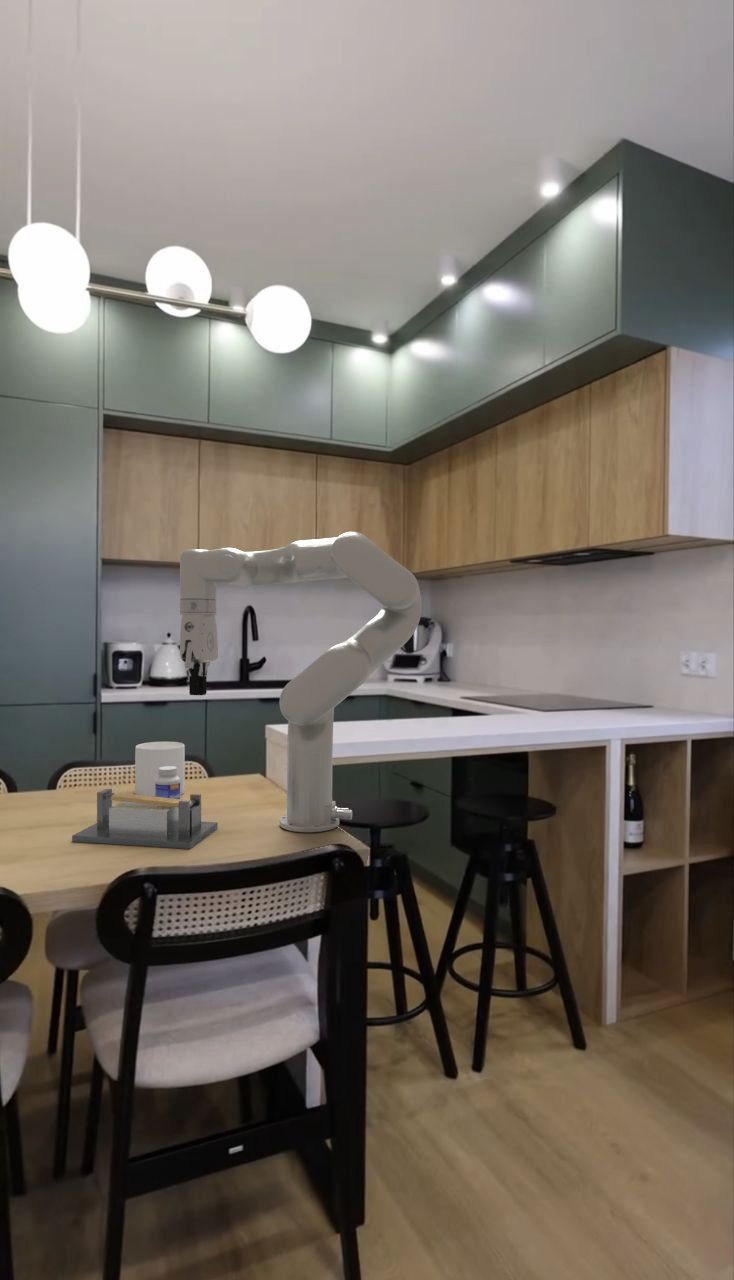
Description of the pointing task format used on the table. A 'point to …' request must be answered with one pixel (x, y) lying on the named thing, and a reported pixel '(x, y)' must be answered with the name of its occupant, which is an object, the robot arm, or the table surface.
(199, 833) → the base
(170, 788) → the pill bottle
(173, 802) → the strap
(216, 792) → the table surface
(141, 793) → the cup
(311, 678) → the robot arm
